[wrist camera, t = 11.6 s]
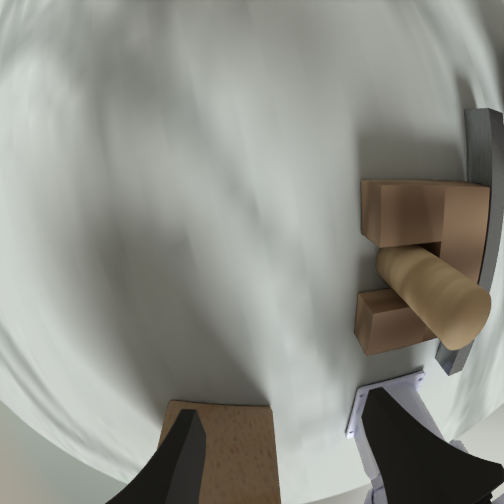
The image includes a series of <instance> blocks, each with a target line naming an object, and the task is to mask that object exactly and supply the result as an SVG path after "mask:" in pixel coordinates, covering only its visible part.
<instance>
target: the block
mask: <svg viewBox="0 0 504 504" xmlns="http://www.w3.org/2000/svg"><path fill="white" fill-rule="evenodd" d="M489 194H490V187H486V186H482V185H478V184H474V183H470V182H466V181H446V180H361V197H362V225H361V234H362V235H364V236H365V237H366V238H368V239H369V240H370V241H371V242H373V243H374V244H375V245H377V246H378V247H379V248H383V247H392V246H402V245H411V244H418V245H419V246H421V247H422V248H424V249H426V250H427V251H429V252H430V253H432V254H434V255H435V256H437V257H438V258H440V259H441V260H443V261H444V262H446V263H447V264H449V265H450V266H452V267H453V268H455V269H456V270H458V271H459V272H461V273H462V274H464V275H465V276H466V277H468V278H469V279H471V280H472V281H473V282H475V283H476V284H477V281H478V277H479V272H480V267H481V262H482V256H483V250H484V244H485V237H486V229H487V220H488V209H489ZM354 334H355V335H356V337H357V339H358V341H359V343H360V345H361V346H362V348H363V350H364V352H365V354H366V356H368V355H372V354H377V353H381V352H386V351H390V350H394V349H398V348H402V347H406V346H410V345H413V344H417V343H421V342H424V341H428V340H431V339H434V338H438V337H437V336H436V335H435V334H434V333H433V332H432V331H431V329H430V328H429V327H428V326H427V325H426V324H425V323H424V322H423V321H422V319H421V318H420V317H419V316H418V315H417V314H416V313H415V312H414V311H413V310H412V309H411V307H410V306H409V305H408V304H407V303H406V302H405V301H404V300H403V299H402V298H401V297H400V296H399V295H398V294H397V293H396V292H395V291H394V290H393V289H392V288H389V289H383V290H376V291H370V292H363V293H358V302H357V312H356V321H355V330H354Z"/></svg>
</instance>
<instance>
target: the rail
mask: <svg viewBox="0 0 504 504" xmlns="http://www.w3.org/2000/svg"><path fill="white" fill-rule="evenodd" d="M464 112H465V121H466V132H467V150H468V182H470V183H474V184H478V185H482V186H486V187H490V194H489V209H488V220H487V229H486V237H485V244H484V250H483V256H482V262H481V267H480V272H479V277H478V281H477V284H478V285H479V286H480V287H482V288H483V289H484V290H486V291H487V292H488V293H489V292H490V288H491V284H492V280H493V276H494V271H495V267H496V262H497V256H498V251H499V245H500V238H501V231H502V223H503V214H504V124H503V114H502V113H501V112H498V111H495V110H493V109H490V108H482V109H468V110H464ZM474 340H475V339H474ZM474 340H472V341H471V342H470V343H469V344H468V345H466V346H465V347H463V348H461V349H458V350H449V349H447V348H446V347H445V345H444V344H443V343H442V342H441V343H440V346H439V349H438V352H437V355H436V358H435V359H436V360H437V361H438V363H439V364H440V365H441V367H442V368H443V369H444V371H445V372H446V373H447V375H448V376H449V375H452V374H454V373H457V372H459V371H461V370H462V369H463V367H464V365H465V362H466V360H467V357H468V355H469V353H470V350H471V348H472V345H473V342H474Z"/></svg>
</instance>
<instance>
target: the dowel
mask: <svg viewBox="0 0 504 504" xmlns="http://www.w3.org/2000/svg"><path fill="white" fill-rule="evenodd" d="M376 268H377V272H378V274H379V275H380V276H381V277H382V278H383V279H384V280H385V281H386V282H387V283H388V284H389V286H390V287H391V288H392V289H393V290H394V291H395V292H396V293H397V294H398V295H399V296H400V297H401V298H402V299H403V300H404V301H405V302H406V303H407V304H408V305H409V306H410V307H411V309H412V310H413V311H414V312H415V313H416V314H417V315H418V316H419V317H420V318H421V319H422V321H423V322H424V323H425V324H426V325H427V326H428V327H429V328H430V329H431V331H432V332H433V333H434V334H435V335H436V336H437V337H438V338H439V340H440V341H441V342H442V343H443V344H444V345H445V347H446V348H447V349H449V350H458V349H461V348H463V347H465V346H466V345H468V344H469V343H470V342H471V341H472V340H474V339H475V337H476V336H477V335H478V334H479V333H480V331H481V330H482V328H483V327H484V325H485V323H486V321H487V319H488V317H489V314H490V310H491V297H490V294H489V293H488V292H487V291H486V290H484V289H483V288H482V287H480V286H479V285H478V284H476V283H475V282H473V281H472V280H471V279H469V278H468V277H466V276H465V275H464V274H462V273H461V272H459V271H458V270H456V269H455V268H453V267H452V266H450V265H449V264H447V263H446V262H444V261H443V260H441V259H440V258H438V257H437V256H435V255H434V254H432V253H430V252H429V251H427V250H426V249H424V248H422V247H421V246H419V245H418V244H411V245H402V246H392V247H383V248H380V250H379V252H378V255H377V258H376Z"/></svg>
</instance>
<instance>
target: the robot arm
mask: <svg viewBox="0 0 504 504" xmlns="http://www.w3.org/2000/svg"><path fill="white" fill-rule="evenodd" d="M424 376H425V372H424V371H419V372H416V373H413V374H409V375H406V376H403V377H399V378H396V379H392V380H388V381H385V382H381V383H377V384H373V385H368V386H364V387H361V388H359V389H358V390H357V393H356V397H355V402H354V406H353V410H352V413H351V417H350V421H349V425H348V428H347V432H346V438H353V437H354V438H355V441H356V444H357V447H358V451H359V454H360V457H361V460H362V463H363V467H364V470H365V472H366V474H367V476H368V477H369V478H370V479H371V483H372V486H373V488H372V489H370V490H369V491H368V493H367V496H366V499H365V502H364V504H504V494H502V495H501V496H500V497H498V498H497V499H496V500H494V501H493V502H491V501H490V499H491V498H492V497H493V496H492V494H491V492H492V491H493V490H494V489H496V488H497V487H498V486H499V485H501V484H502V483H503V482H504V468H503V466H502V465H501V464H499V463H495V462H491V461H487V460H484V459H481V458H478V457H475V456H472V455H470V454H469V453H468V452H467V450H466V448H465V447H464V445H463V443H462V442H461V441H459V440H456V441H455V440H451V441H450V442H449V443H447V442H446V441H445V440H444V438H443V436H442V434H441V432H440V431H439V429H438V427H437V425H436V423H435V422H434V420H433V418H432V416H431V415H430V413H429V411H428V409H427V408H426V406H425V404H424V403H423V401H422V399H421V397H420V396H419V394H418V391H419V389H420V386H421V384H422V381H423V379H424ZM205 456H206V433H205V430H204V428H203V425H202V423H201V420H200V418H199V415H198V413H197V410H196V409H181V410H180V412H179V414H178V416H177V418H176V420H175V421H174V423H173V425H172V427H171V429H170V430H169V432H168V434H167V435H166V437H165V438H164V440H163V442H162V443H161V445H160V446H159V448H158V449H157V451H156V452H155V453H154V455H153V456H152V457H151V459H150V460H149V462H148V463H147V464H146V465H145V467H144V468H143V469H142V470H141V471H140V473H139V474H138V475H137V476H136V477H135V478H134V479H133V480H132V481H131V482H130V483H129V484H128V485H127V486H126V487H125V488H124V489H123V490H122V491H121V492H120V493H118V494H117V495H116V496H115V497H113V498H112V499H111V500H109V501H108V502H107V503H106V504H199V494H200V488H201V482H202V476H203V469H204V463H205Z"/></svg>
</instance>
